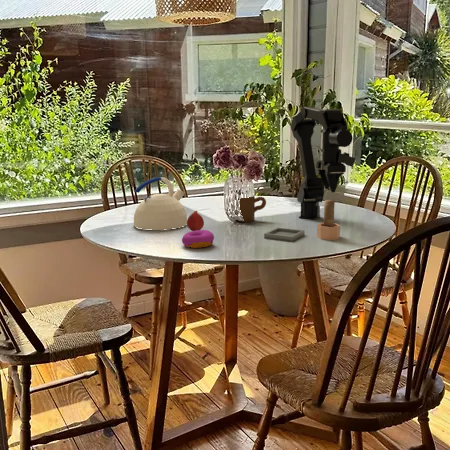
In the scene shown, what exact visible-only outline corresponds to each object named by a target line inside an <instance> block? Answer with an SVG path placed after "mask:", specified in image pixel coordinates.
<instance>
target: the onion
mask: <svg viewBox="0 0 450 450" xmlns="http://www.w3.org/2000/svg"><path fill="white" fill-rule="evenodd" d="M204 225H205V221H204V218H203V216H202V215H201V214H200V213H198V210H194V211H193V212H192V213H190V215H189V216H188V217H187V228H188V229H189V230H190V232H191V231H197V230H203V228H204Z"/></svg>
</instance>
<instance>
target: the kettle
mask: <svg viewBox="0 0 450 450" xmlns="http://www.w3.org/2000/svg"><path fill="white" fill-rule="evenodd" d="M159 181H161V182H162V181H163V182H164V183H165V184H166V185H167V189H168V193H167V194H166V193H156V194H151V195H149V196H147V197H145V198H144V199H143V200H142V201H141V202H140V203H139V204H138V205H137V207H136V208H135V211H134V214H133V225H134V226H136V227H138V228H142V229H152V230H164V229H172V228H179V227H182V226H185V225H186V224H187V220H188V217H187V216H188V213H187V210H186V209H185V206H184V205H183V204H182V202H180V201H181V199H182V197H183V196H185V193H184V191H182V190H181V189H179V188H178V189H176V191H175V189H174V186H173V183H172V181H170V180H169V179H168V178H167V177H163V176H162V177H161V176H157V177H153V178H151V179H148V180H146V181H144V182H143V183H141V184H140V185H138V186H137V187H136V188H135V190H134V191H133V192H135V193H140V192H141V191H142V190H143V189H144V188H145V187H147V186H149V185H150V184H153V183H155V182H159ZM174 191H175V192H174ZM134 226H133V227H134ZM185 227H186V226H185Z"/></svg>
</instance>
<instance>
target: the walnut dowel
mask: <svg viewBox="0 0 450 450" xmlns="http://www.w3.org/2000/svg"><path fill="white" fill-rule="evenodd" d="M323 202H324V204H323V206H324V207H323V208H324V210H323V223H324V227H334V223H335V200H334V199H325V200H324V201H323Z"/></svg>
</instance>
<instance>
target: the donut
mask: <svg viewBox="0 0 450 450" xmlns="http://www.w3.org/2000/svg"><path fill="white" fill-rule="evenodd" d="M214 239H215V235H214V234H213V232H211V231H210V230H208V229H201V230H197V231H191V230H190V231H188V232H187V233H185V234H184V235H183V236H182V238H181V242H182V244H183V245H184V247H185V246H186V247H185V248H187V247H191V248H190V249H201V248H202V247H203V248H207V247H209V246H211V245H213V243H214Z"/></svg>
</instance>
